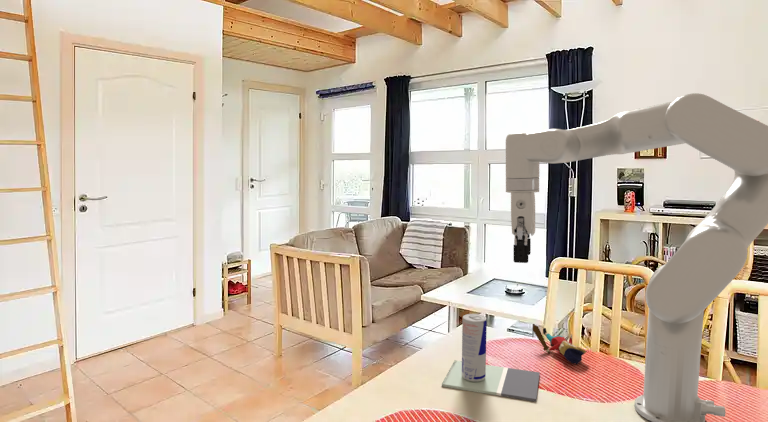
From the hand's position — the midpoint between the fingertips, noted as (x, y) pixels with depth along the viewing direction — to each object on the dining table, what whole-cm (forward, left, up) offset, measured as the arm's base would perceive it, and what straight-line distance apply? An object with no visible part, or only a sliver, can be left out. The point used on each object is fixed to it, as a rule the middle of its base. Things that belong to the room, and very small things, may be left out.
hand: (522, 258), depth 115 cm
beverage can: (+10, +6, -29) cm, 31 cm away
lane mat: (+6, +4, -29) cm, 30 cm away
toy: (-9, -17, -30) cm, 35 cm away
